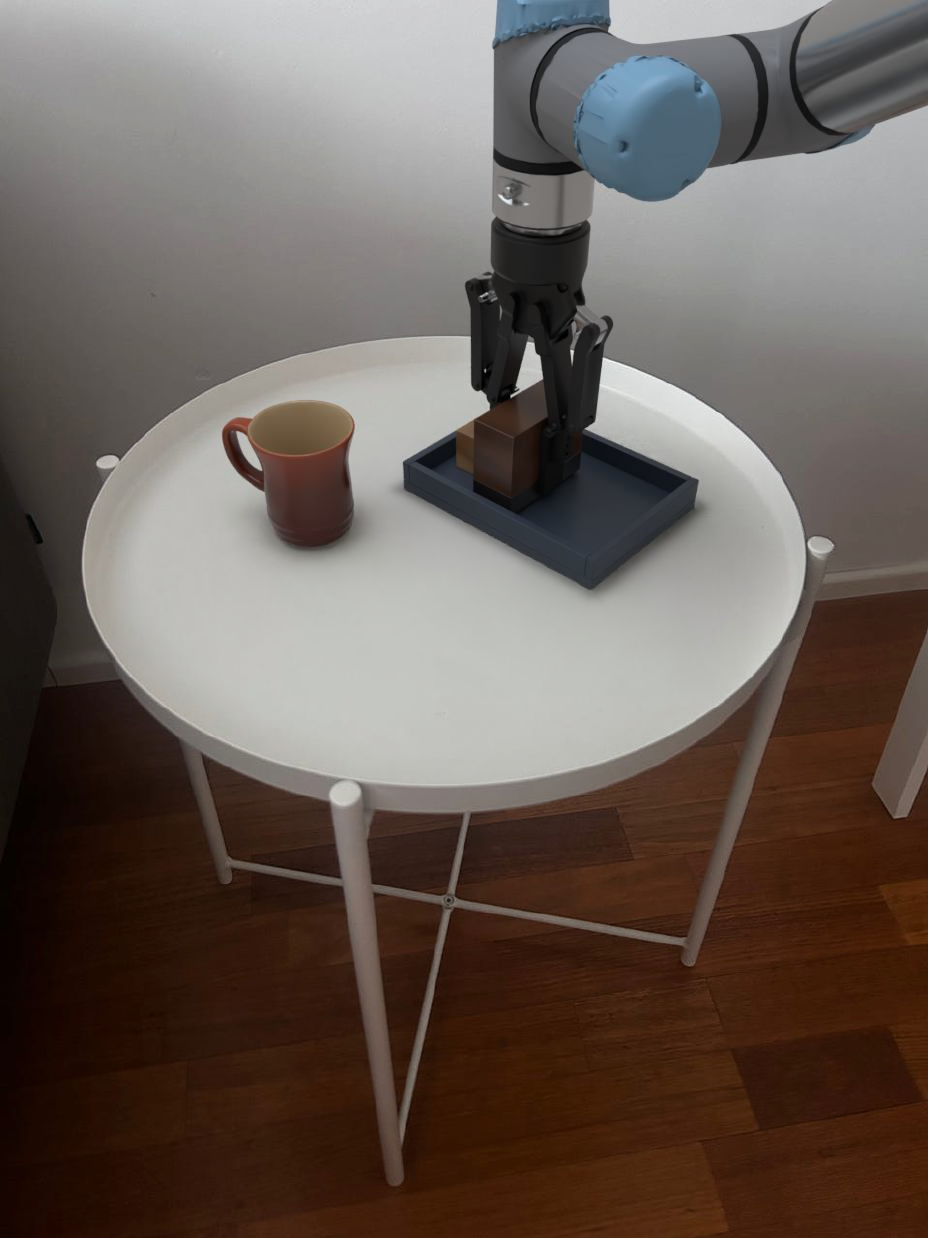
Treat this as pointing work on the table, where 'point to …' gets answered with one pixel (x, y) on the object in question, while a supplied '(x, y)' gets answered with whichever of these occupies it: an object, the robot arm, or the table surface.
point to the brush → (514, 449)
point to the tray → (567, 506)
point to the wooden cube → (465, 447)
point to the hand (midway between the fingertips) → (527, 476)
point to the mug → (299, 468)
